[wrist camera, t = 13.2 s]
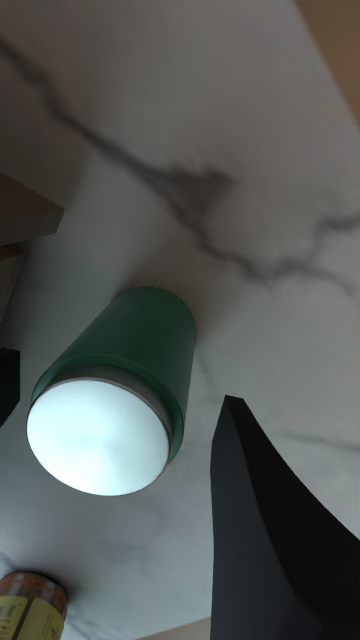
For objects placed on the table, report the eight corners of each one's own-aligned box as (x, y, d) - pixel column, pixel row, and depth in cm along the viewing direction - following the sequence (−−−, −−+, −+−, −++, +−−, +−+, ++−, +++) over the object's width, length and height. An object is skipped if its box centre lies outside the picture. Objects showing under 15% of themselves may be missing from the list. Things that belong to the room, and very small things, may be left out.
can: (111, 274, 16) (19, 347, 8) (206, 300, 16) (201, 395, 8) (97, 359, 17) (11, 481, 10) (182, 382, 17) (160, 520, 10)
